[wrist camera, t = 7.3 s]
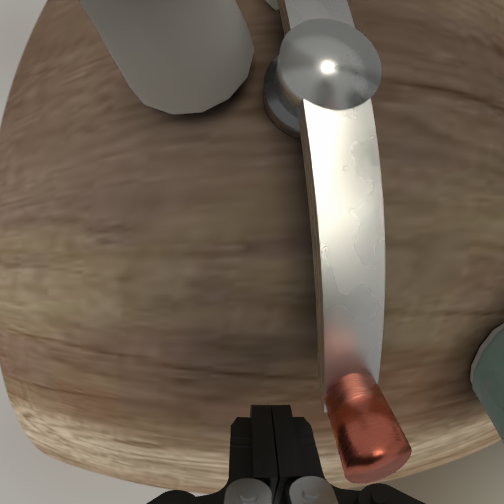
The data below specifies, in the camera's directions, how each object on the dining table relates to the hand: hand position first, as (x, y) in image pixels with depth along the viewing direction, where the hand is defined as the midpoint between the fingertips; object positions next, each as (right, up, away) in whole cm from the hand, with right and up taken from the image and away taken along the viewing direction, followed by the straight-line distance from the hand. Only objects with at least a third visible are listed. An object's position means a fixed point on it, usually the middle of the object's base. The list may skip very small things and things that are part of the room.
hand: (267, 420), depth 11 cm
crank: (+3, +9, +2) cm, 10 cm away
